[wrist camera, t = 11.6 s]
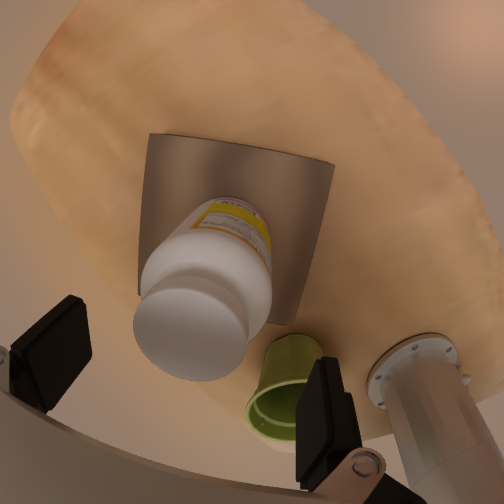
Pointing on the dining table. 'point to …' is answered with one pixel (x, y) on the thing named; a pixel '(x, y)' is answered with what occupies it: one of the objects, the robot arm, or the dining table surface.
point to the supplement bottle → (206, 291)
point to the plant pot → (282, 386)
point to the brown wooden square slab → (243, 188)
